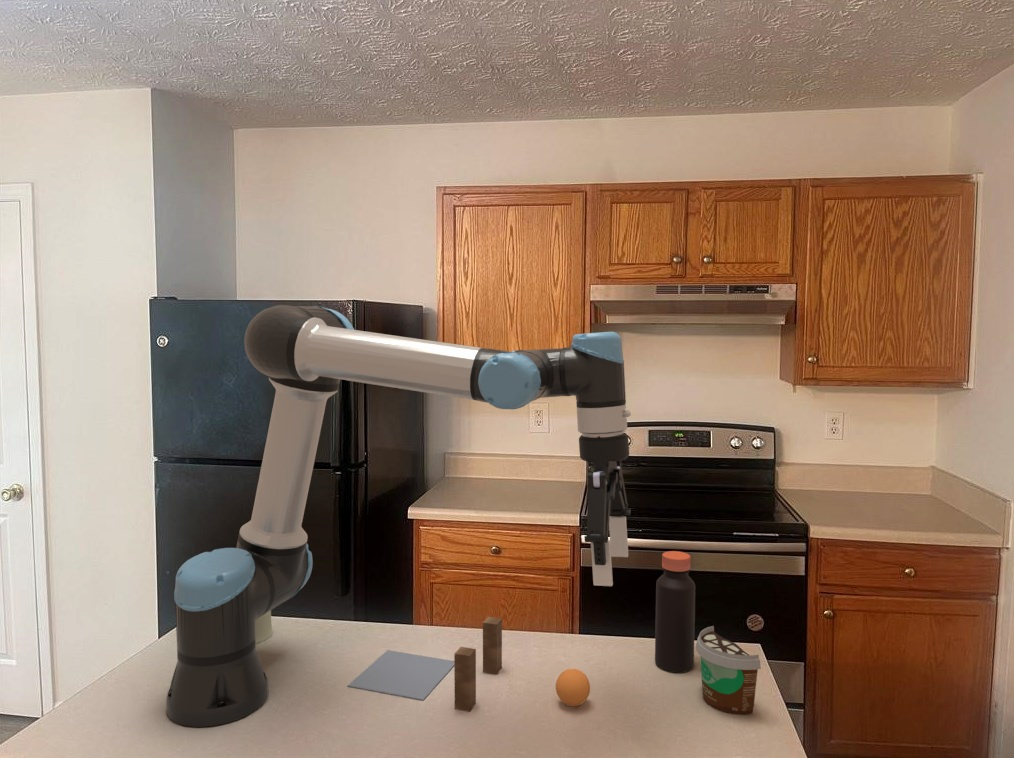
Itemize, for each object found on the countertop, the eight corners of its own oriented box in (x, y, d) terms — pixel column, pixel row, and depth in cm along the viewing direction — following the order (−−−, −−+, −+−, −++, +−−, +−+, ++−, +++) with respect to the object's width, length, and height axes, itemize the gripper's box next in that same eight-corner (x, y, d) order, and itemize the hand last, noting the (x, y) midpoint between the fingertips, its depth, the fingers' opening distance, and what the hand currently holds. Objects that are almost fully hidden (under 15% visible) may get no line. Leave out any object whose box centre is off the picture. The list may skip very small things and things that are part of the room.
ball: (551, 709, 113) (551, 675, 113) (560, 692, 119) (560, 660, 118) (585, 715, 112) (586, 681, 111) (593, 698, 117) (593, 665, 116)
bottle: (698, 673, 125) (700, 561, 124) (659, 673, 125) (661, 561, 124) (688, 655, 132) (690, 549, 130) (651, 655, 132) (653, 549, 130)
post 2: (482, 672, 125) (482, 622, 125) (488, 665, 128) (488, 616, 127) (496, 674, 124) (496, 624, 124) (501, 668, 127) (501, 618, 126)
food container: (679, 688, 120) (680, 630, 119) (710, 681, 122) (711, 624, 122) (726, 726, 109) (728, 662, 108) (759, 718, 111) (761, 655, 110)
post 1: (454, 708, 113) (454, 653, 113) (460, 700, 116) (460, 646, 115) (469, 711, 113) (469, 656, 112) (475, 703, 115) (475, 649, 114)
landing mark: (347, 686, 120) (347, 685, 120) (387, 651, 134) (387, 650, 134) (423, 700, 116) (423, 699, 116) (457, 662, 129) (457, 661, 129)
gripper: (612, 445, 97) (622, 600, 98) (640, 421, 120) (647, 546, 121) (558, 447, 99) (568, 597, 100) (595, 423, 123) (604, 545, 124)
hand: (612, 570), depth 111 cm, fingers open, 13 cm apart
